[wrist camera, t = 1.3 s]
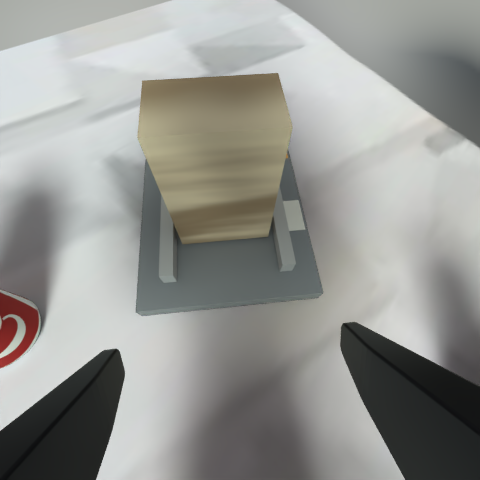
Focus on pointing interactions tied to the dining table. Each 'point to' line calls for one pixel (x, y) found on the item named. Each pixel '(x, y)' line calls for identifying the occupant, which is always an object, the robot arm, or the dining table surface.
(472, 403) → the robot arm
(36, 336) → the soda can
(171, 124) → the slider tab
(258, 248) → the switch board
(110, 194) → the dining table surface
